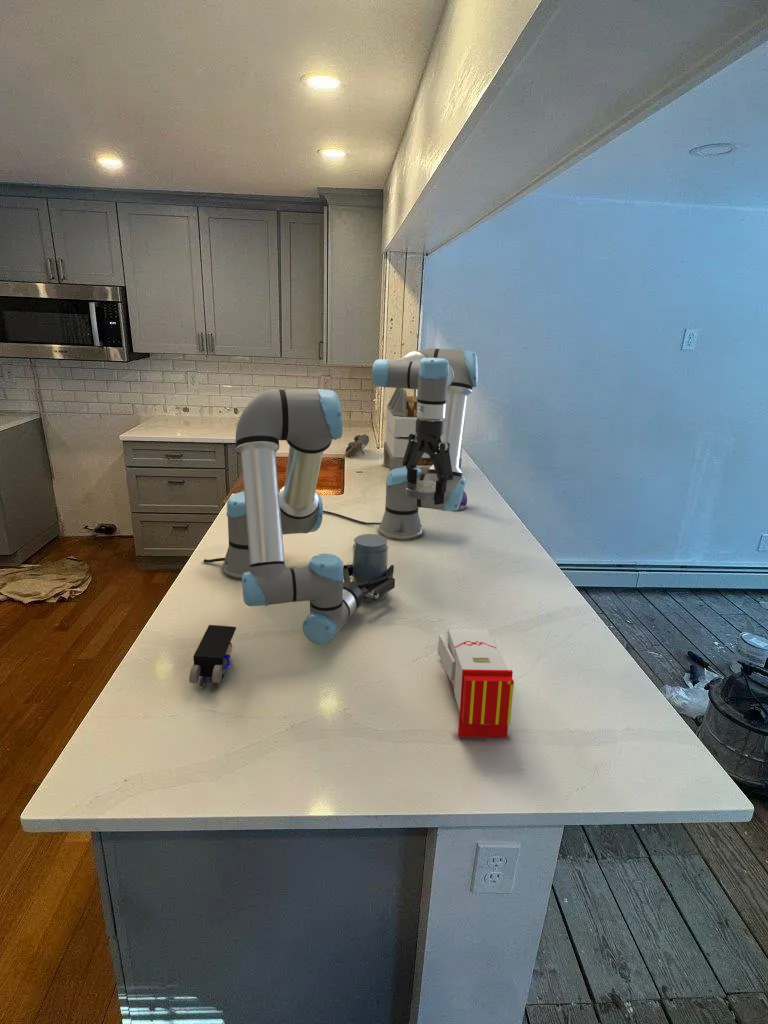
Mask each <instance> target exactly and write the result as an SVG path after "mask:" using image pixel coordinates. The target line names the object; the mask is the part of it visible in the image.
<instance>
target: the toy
mask: <svg viewBox="0 0 768 1024" xmlns="http://www.w3.org/2000/svg"><path fill="white" fill-rule="evenodd" d="M446 640H447V643H446V641H445V639H444V636H443V635H442V634H439V637H438V646H437V656H438V657H439V659H440V661H441V663H442V666H443V668H444V670H445V672H446V674H447V677H448V679H449V681H450V684H451V687H452V690H453V693H454V697H455V701H456V705H457V708H458V711H459V714H458V715H459V716H458V730H457V731H458V732H457V737H458V738H508V731H509V726H510V725H511V717H512V707H513V697H514V696H513V695H514V684H515V680H514V679H513V673H514V671H513V670H512V669H508V667H507V665H506V662H505V661H504V659H503V658H502V655H501V653H500V651H499V649H498V647H497V643H496V639H495V637H494V635H493V634H491V632H490V631H489V629H467V628H466V629H465V628H463V629H461V628H460V629H459V628H448V630H447V639H446Z"/></svg>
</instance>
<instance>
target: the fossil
mask: <svg viewBox="0 0 768 1024" xmlns="http://www.w3.org/2000/svg"><path fill="white" fill-rule="evenodd" d="M353 440H354V441H350V442H348V444H347V445H348V446H347V447H346V449H345V453H344V455H345V457H346V458H352V457H355V456H356V455H358V454H359V453H361V452H362V454H363V455H364V454H365V453H364V451H363V450H364V449H365V447H367V446H368V444H369V443H370V436H369V435H368V434H365V433H364V434H362V435H361V434H357V435H355V436H354V437H353Z"/></svg>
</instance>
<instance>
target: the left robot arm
mask: <svg viewBox="0 0 768 1024" xmlns="http://www.w3.org/2000/svg"><path fill="white" fill-rule="evenodd" d="M343 427H344V426H343V415H342V406H341V402H340V398H339V395H338V394H337V393H336V392H335V391H334V390H332V389H321V388H316V389H315V388H310V389H309V388H307V389H303V388H302V389H301V388H300V389H278V388H273V389H268V390H264V391H262V392H259V393H258V394H256V395H255V396H254V397H253V398H252V399H251V400H249V402H248V403H247V405H246V406H245V407H244V409H243V411H242V413H241V414H240V417H239V420H238V422H237V424H236V430H235V450H236V452H237V453H238V454H239V455H241V456H240V457H241V469H242V482H243V483H242V484H243V491H239V492H237V493H235V494H232V495H231V496H229V498H228V500H227V501H226V517H227V533H228V536H227V537H228V547H227V550H226V554H225V557H217V558H211V559H206V558H204V559H203V563H207V564H208V563H209V564H210V563H216V562H223V572H224V574H226V575H227V576H228V577H229V578H230V577H231V578H233V579H238V580H241V588H242V589H241V590H242V598H243V603H244V605H246V606H247V607H261V606H263V607H264V606H265V607H268V606H271V605H279V604H286V603H287V604H288V603H298V602H306V601H309V613H308V614H307V615H306V616H305V618H304V620H303V622H302V624H301V630H302V633H303V635H304V637H305V639H307V640H308V641H309V642H310V643H312V644H315V645H326V644H328V643H329V642H330V641H331V640H332V639H334V638H335V637H336V636H337V634H338V633H339V632H340V630H341V629H342V628H343V627H344V625H345V624H346V623H347V621H348V620H349V619H350V618H351V617H352V615H353V614H355V612H357V610H358V609H359V608H360V606H361V605H362V603H363V602H364V601H363V600H364V599H366V598H367V597H370V598H373V602H378V601H379V600H378V599H379V597H381V596H382V595H384V594H385V593H386V594H387V593H389V592H390V591H392V590H393V589H394V588H395V587H396V578H394V571H395V565H394V564H391V565H390V566H389V567H387V571H386V572H385V573H384V574H383V577H381V578H378V579H376V580H373V581H370V582H368V581H365V582H362V583H357V582H354V581H352V579H351V578H352V564H353V562H351V564H344V562H343V560H342V559H341V558H340V557H339V556H337V555H335V554H333V553H318V554H317V555H314V556H312V557H311V558H310V559H309V562H308V566H298V567H288V568H287V567H286V564H285V562H286V561H285V550H284V549H285V548H284V538H283V535H294V534H295V535H296V534H308V533H315V532H317V531H318V530H319V529H320V527H321V525H322V522H323V514H324V512H323V511H324V507H323V500H322V497H321V495H320V494H319V493H317V492H316V489H317V484H318V480H319V475H320V470H321V465H322V462H323V461H322V460H323V455H324V452H325V451H327V450H328V449H329V448H330V446H331V444H332V442H333V440H334V441H337V440H340V439H341V438H342V437H343V432H344V431H343ZM280 441H286V443H287V445H288V446H289V448H288V457H287V464H286V473H285V480H284V486H283V487H282V488H281V489H280V490H279V480H278V479H279V478H278V468H277V455H276V453H277V452H278V451H279V450H280Z"/></svg>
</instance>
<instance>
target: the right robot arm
mask: <svg viewBox="0 0 768 1024" xmlns="http://www.w3.org/2000/svg"><path fill="white" fill-rule="evenodd" d="M478 367H479V366H478V356H477V353H476V352H475V351H473V350H464V349H453V348H452V349H450V348H449V349H448V348H436V347H435V348H434V347H433V348H431V347H430V348H429V347H428V348H423V349H418V350H414V351H410V352H408V353H406V354H405V355H404V356H403V357H399V358H396V359H395V358H394V359H387V358H383V359H382V358H380V359H376V360H375V361H374V362H373V365H372V371H371V379H372V383H373V385H374V386H375V387H381V388H392V389H396V388H403V389H405V390H406V389H409V390H417V396H418V399H417V414H416V416H417V417H418V418H417V420H416V428H415V431H416V433H414V434H409V442H408V445H407V449H406V452H405V455H404V459H403V462H402V465H403V466H404V467H401V468H396V469H393V470H391V471H390V470H389V472H388V473H387V475H386V482H385V504H384V505H385V507H384V508H385V509H384V513H383V515H382V519H381V522H367V521H361V520H358V519H355V518H352V517H349V516H346V515H343V514H339V513H336V512H333V511H328V510H323V514H324V513H325V514H330V515H333V516H337V517H340V518H343V519H346V520H348V521H349V520H350V521H353V522H356V523H359V524H361V525H367V526H368V525H369V526H370V525H372V526H373V525H374V526H375V525H377V526H378V533H379V535H380V536H383V537H385V538H386V539H389V540H395V541H410V540H415V539H418V538H420V537H421V536H422V535H423V525H422V524H421V518H420V515H419V508H422V509H428V510H429V509H430V510H431V509H432V510H439V511H443V512H445V511H447V512H455V511H458V510H457V509H458V508H459V505H460V503H461V500H462V496H463V492H464V491H465V489H466V481H467V480H466V478H465V477H463V470H462V469H461V470H460V469H459V467H458V466H459V458H460V450H461V441H463V438H462V433H463V434H464V432H463V424H464V425H465V421H464V420H465V416H466V415H465V414H466V406H467V399H468V396H470V395H471V394H472V393H473V388H476V387H478V378H479V376H478V375H479V371H478V370H479V368H478ZM424 453H426V454H428V455H429V457H430V458H431V459H432V462H433V465H430V466H429V467H428V469H427V473H422V469H421V468H420V467H417V464H418V462H419V460H420V459H421V457H422V455H423V454H424ZM407 460H408V461H407ZM420 480H424V481H433V482H436V488H435V500H420V499H415V498H412V497H409V496H408V495H406V493H405V489H406V484H407V483H409V482H412V481H420ZM444 493H445V495H444Z"/></svg>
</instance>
